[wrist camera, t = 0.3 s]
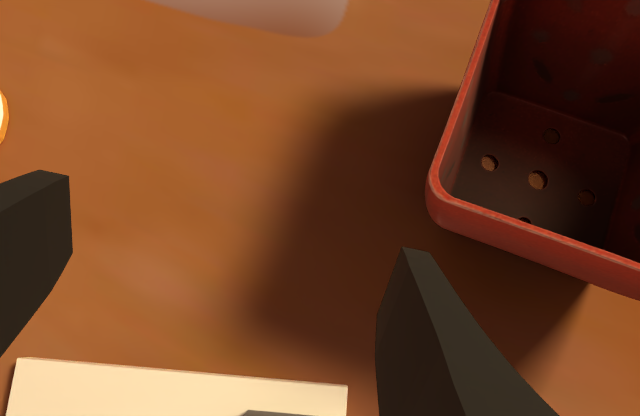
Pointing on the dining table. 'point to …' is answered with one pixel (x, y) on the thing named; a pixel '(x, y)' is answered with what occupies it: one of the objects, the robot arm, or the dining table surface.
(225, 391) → the shelf board
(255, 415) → the grey square frame
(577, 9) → the plant pot
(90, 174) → the dining table surface
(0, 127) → the cup
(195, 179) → the dining table surface
